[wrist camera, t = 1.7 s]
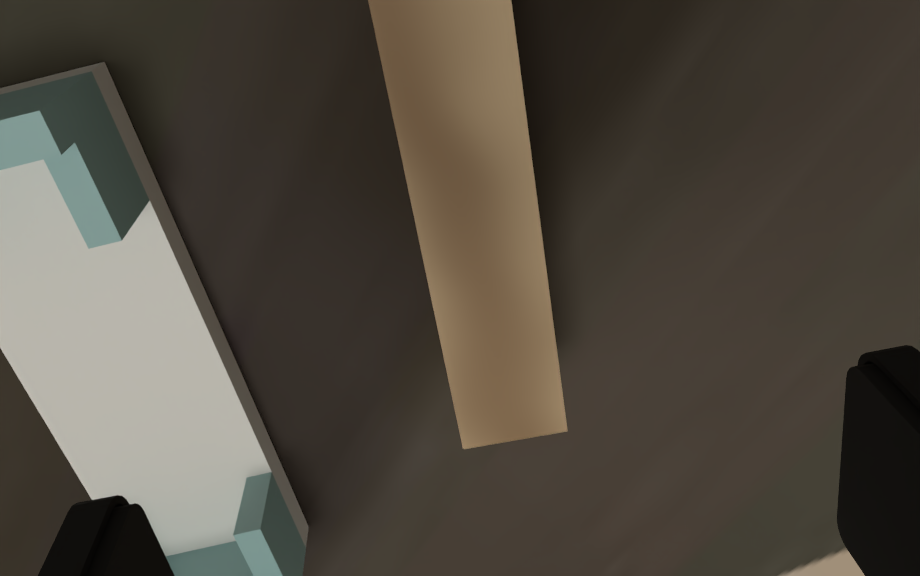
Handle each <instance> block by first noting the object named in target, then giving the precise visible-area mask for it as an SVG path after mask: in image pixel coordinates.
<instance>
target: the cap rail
mask: <svg viewBox="0 0 920 576" xmlns="http://www.w3.org/2000/svg"><path fill="white" fill-rule="evenodd" d="M0 348H1V350H2V352H3V353H4V355H5V356H6V358H7V360H8V361H9V363H10V365H11V366H12V368H13V370H14V371H15V373H16V375H17V376H18V378H19V380H20V381H21V383H22V385H23V386H24V388H25V390H26V391H27V393H28V395H29V396H30V398H31V400H32V401H33V403H34V405H35V406H36V408H37V410H38V411H39V413H40V415H41V416H42V418H43V419H44V421H45V423H46V424H47V426H48V428H49V429H50V431H51V433H52V434H53V436H54V438H55V439H56V441H57V443H58V444H59V446H60V448H61V449H62V451H63V453H64V454H65V456H66V458H67V459H68V461H69V463H70V464H71V466H72V468H73V469H74V471H75V473H76V474H77V476H78V478H79V479H80V481H81V482H82V484H83V486H84V487H85V489H86V491H87V492H88V494H89V496H90V497H91V499H92V500H95V499H100V498H106V497H111V496H116V495H120V496H123V497H124V498H125V499H127V501H128V503H129V504H134V503H136V504H139V505H140V506H141V507H142V508H143V510H144V512H145V514H146V516H147V518H148V520H149V522H150V525H151V527H152V529H153V531H154V533H155V535H156V537H157V539H158V542H159V544H160V546H161V548H162V550H163V552H164V554H165V556H166V559H167V561H168V563H169V565H170V567H171V569H172V571H173V573H174V575H175V576H302V574H303V567H304V559H305V551H306V544H307V536H308V528H309V526H308V524H307V522H306V519H305V517H304V515H303V513H302V510H301V508H300V506H299V504H298V501H297V499H296V497H295V494H294V492H293V490H292V488H291V485H290V483H289V481H288V478H287V476H286V474H285V472H284V469H283V467H282V465H281V463H280V460H279V458H278V456H277V453H276V451H275V449H274V447H273V444H272V442H271V440H270V437H269V435H268V433H267V431H266V428H265V426H264V424H263V422H262V419H261V417H260V415H259V412H258V410H257V408H256V406H255V403H254V401H253V399H252V396H251V394H250V392H249V390H248V387H247V385H246V383H245V381H244V378H243V376H242V374H241V371H240V369H239V367H238V365H237V362H236V360H235V358H234V355H233V353H232V351H231V349H230V346H229V344H228V342H227V340H226V337H225V335H224V333H223V330H222V328H221V326H220V324H219V321H218V319H217V317H216V314H215V312H214V310H213V308H212V305H211V303H210V301H209V299H208V296H207V294H206V292H205V289H204V287H203V285H202V283H201V280H200V278H199V276H198V273H197V271H196V269H195V267H194V264H193V262H192V260H191V258H190V255H189V253H188V251H187V248H186V246H185V244H184V242H183V239H182V237H181V235H180V232H179V230H178V228H177V226H176V223H175V221H174V219H173V217H172V214H171V212H170V210H169V207H168V205H167V203H166V201H165V198H164V196H163V194H162V191H161V189H160V187H159V185H158V182H157V180H156V178H155V176H154V173H153V171H152V169H151V166H150V164H149V162H148V160H147V157H146V155H145V153H144V150H143V148H142V146H141V144H140V141H139V139H138V137H137V135H136V132H135V130H134V128H133V125H132V123H131V121H130V119H129V116H128V114H127V112H126V109H125V107H124V105H123V103H122V100H121V98H120V96H119V94H118V91H117V89H116V87H115V84H114V82H113V80H112V78H111V75H110V73H109V71H108V68H107V66H106V64H105V62H101V63H97V64H93V65H89V66H85V67H82V68H78V69H74V70H70V71H66V72H62V73H58V74H54V75H50V76H46V77H42V78H38V79H34V80H30V81H27V82H23V83H19V84H15V85H11V86H7V87H3V88H0Z"/></svg>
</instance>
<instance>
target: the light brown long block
mask: <svg viewBox="0 0 920 576" xmlns="http://www.w3.org/2000/svg"><path fill="white" fill-rule="evenodd" d="M368 2H369V6H370V11H371V16H372V21H373V25H374V30H375V35H376V39H377V44H378V49H379V54H380V58H381V63H382V68H383V73H384V77H385V82H386V87H387V91H388V96H389V101H390V106H391V110H392V115H393V120H394V125H395V129H396V134H397V139H398V143H399V148H400V153H401V158H402V162H403V167H404V172H405V177H406V181H407V186H408V191H409V195H410V200H411V205H412V210H413V214H414V219H415V224H416V229H417V233H418V238H419V243H420V247H421V252H422V257H423V262H424V266H425V271H426V276H427V281H428V285H429V290H430V295H431V299H432V304H433V309H434V314H435V318H436V323H437V328H438V333H439V337H440V342H441V347H442V351H443V356H444V361H445V366H446V370H447V375H448V380H449V385H450V389H451V394H452V399H453V403H454V408H455V413H456V418H457V422H458V427H459V432H460V437H461V441H462V446H463V449H468V448H474V447H479V446H485V445H491V444H497V443H502V442H508V441H514V440H520V439H525V438H531V437H537V436H543V435H549V434H554V433H560V432H566V431H567V424H566V416H565V408H564V401H563V393H562V385H561V378H560V370H559V362H558V355H557V347H556V339H555V331H554V324H553V316H552V308H551V301H550V293H549V285H548V278H547V270H546V262H545V255H544V247H543V239H542V232H541V224H540V216H539V209H538V201H537V193H536V186H535V178H534V170H533V163H532V155H531V147H530V140H529V132H528V124H527V116H526V109H525V101H524V93H523V86H522V78H521V70H520V63H519V55H518V47H517V40H516V32H515V24H514V17H513V9H512V1H511V0H368Z"/></svg>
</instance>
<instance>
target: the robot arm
mask: <svg viewBox="0 0 920 576" xmlns="http://www.w3.org/2000/svg"><path fill="white" fill-rule="evenodd" d="M837 524H838V529H839V532H840V536H841V538H842V540H843V543H844V544H845V546H846V548H847V549H848V551H849V552H850V554H851V555H852V557H853V558H854V560H855V561H856V563H857V564H858V566H859V567H860V569H861V570H862V572H863V573H864V575H865V576H920V352H919V351H918V350H917V349H915V348H914V347H912V346H908V345H905V346H900V347H894V348H889V349H884V350H879V351H873V352H868V353H865V354H863V355H861V357H860V359H859V361H858V366H855V367H851V368H850V369H849V370H848V372H847V377H846V392H845V406H844V421H843V436H842V451H841V465H840V480H839V495H838V510H837ZM38 576H175V575H174V573H173V571H172V569H171V567H170V565H169V563H168V561H167V559H166V556H165V554H164V552H163V550H162V548H161V546H160V544H159V542H158V539H157V537H156V535H155V533H154V531H153V529H152V527H151V525H150V522H149V520H148V518H147V516H146V514H145V512H144V510H143V508H142V507H141V506H140V505H139V504H136V503H134V504H129V503H128V501H127V499H125V498H124V497H123V496H120V495H116V496H111V497H106V498H100V499H95V500H90V501H85V502H79V503H76V504H74V505H73V506H72V507H71V508H70V510H69V511H68V513H67V515H66V518H65V520H64V522H63V524H62V526H61V528H60V530H59V532H58V534H57V537H56V539H55V541H54V543H53V545H52V547H51V549H50V551H49V553H48V556H47V558H46V560H45V562H44V564H43V566H42V568H41V570H40V572H39V575H38Z"/></svg>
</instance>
